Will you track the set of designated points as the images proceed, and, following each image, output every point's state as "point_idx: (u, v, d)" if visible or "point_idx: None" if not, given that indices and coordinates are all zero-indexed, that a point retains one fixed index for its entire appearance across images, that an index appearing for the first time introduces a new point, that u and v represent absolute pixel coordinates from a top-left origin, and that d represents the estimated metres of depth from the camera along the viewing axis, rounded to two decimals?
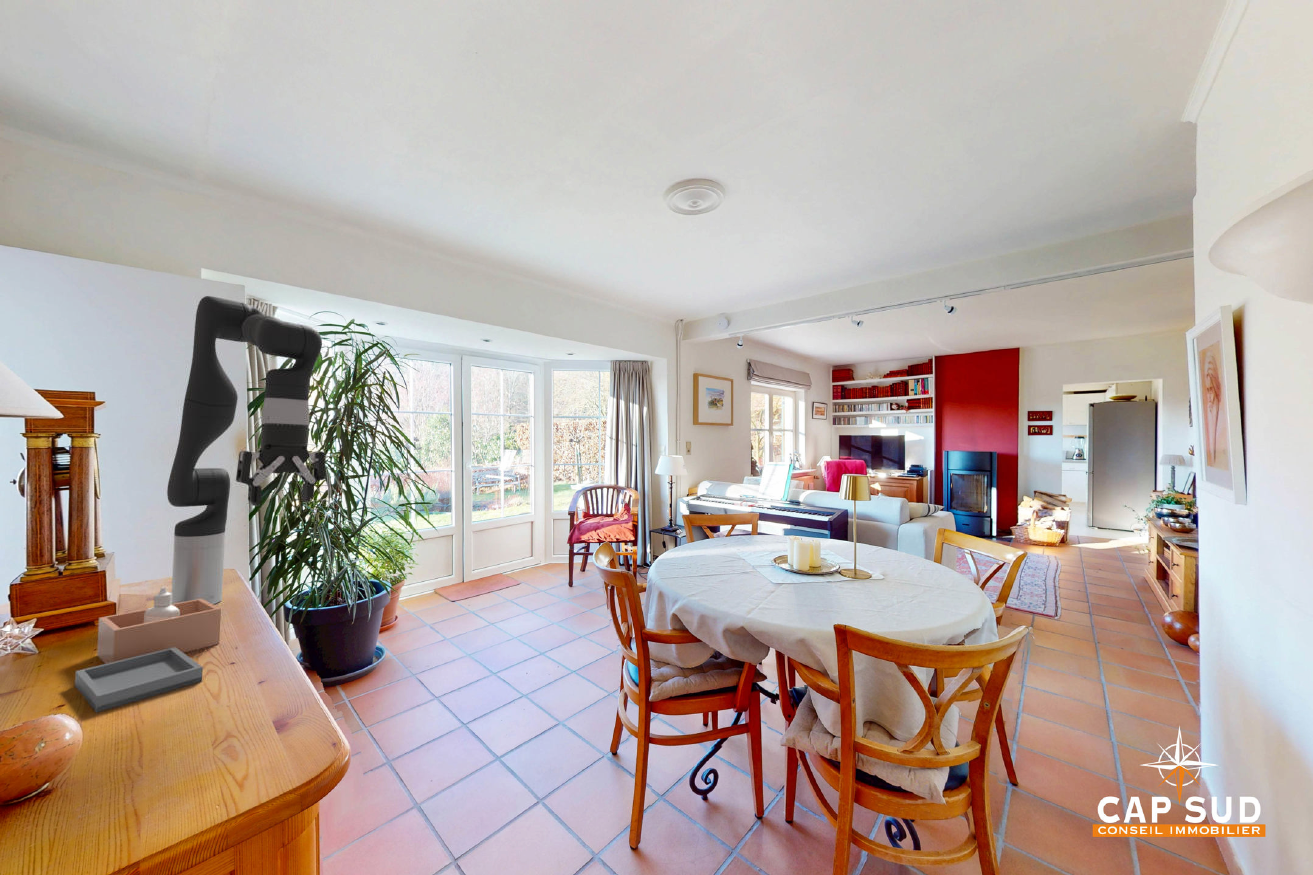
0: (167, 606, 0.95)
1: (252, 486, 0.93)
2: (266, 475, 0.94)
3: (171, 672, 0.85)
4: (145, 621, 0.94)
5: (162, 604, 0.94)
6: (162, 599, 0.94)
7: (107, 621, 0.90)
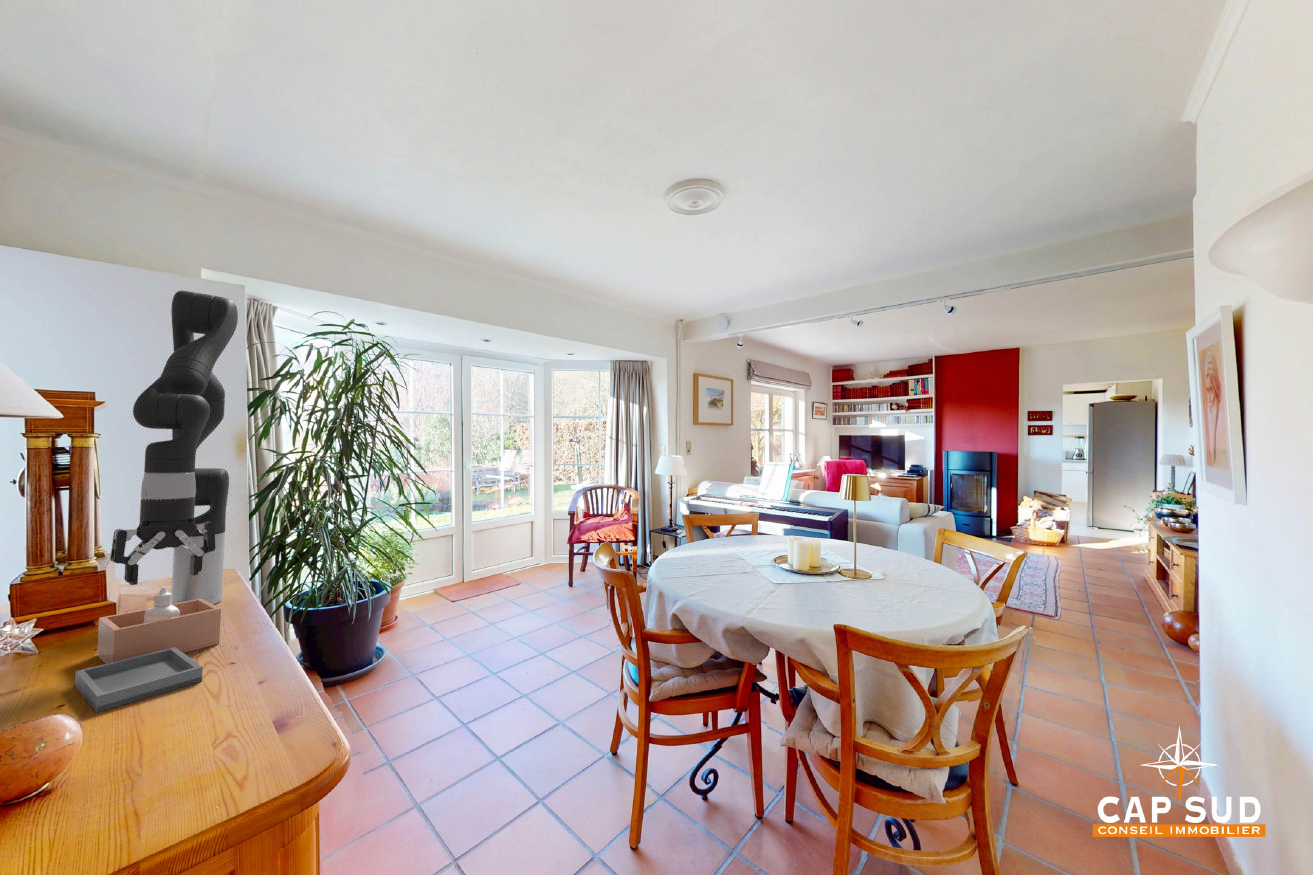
0: (167, 605, 0.95)
1: (128, 565, 0.90)
2: (144, 553, 0.92)
3: (171, 672, 0.85)
4: (145, 621, 0.94)
5: (162, 604, 0.94)
6: (162, 599, 0.94)
7: (107, 621, 0.90)
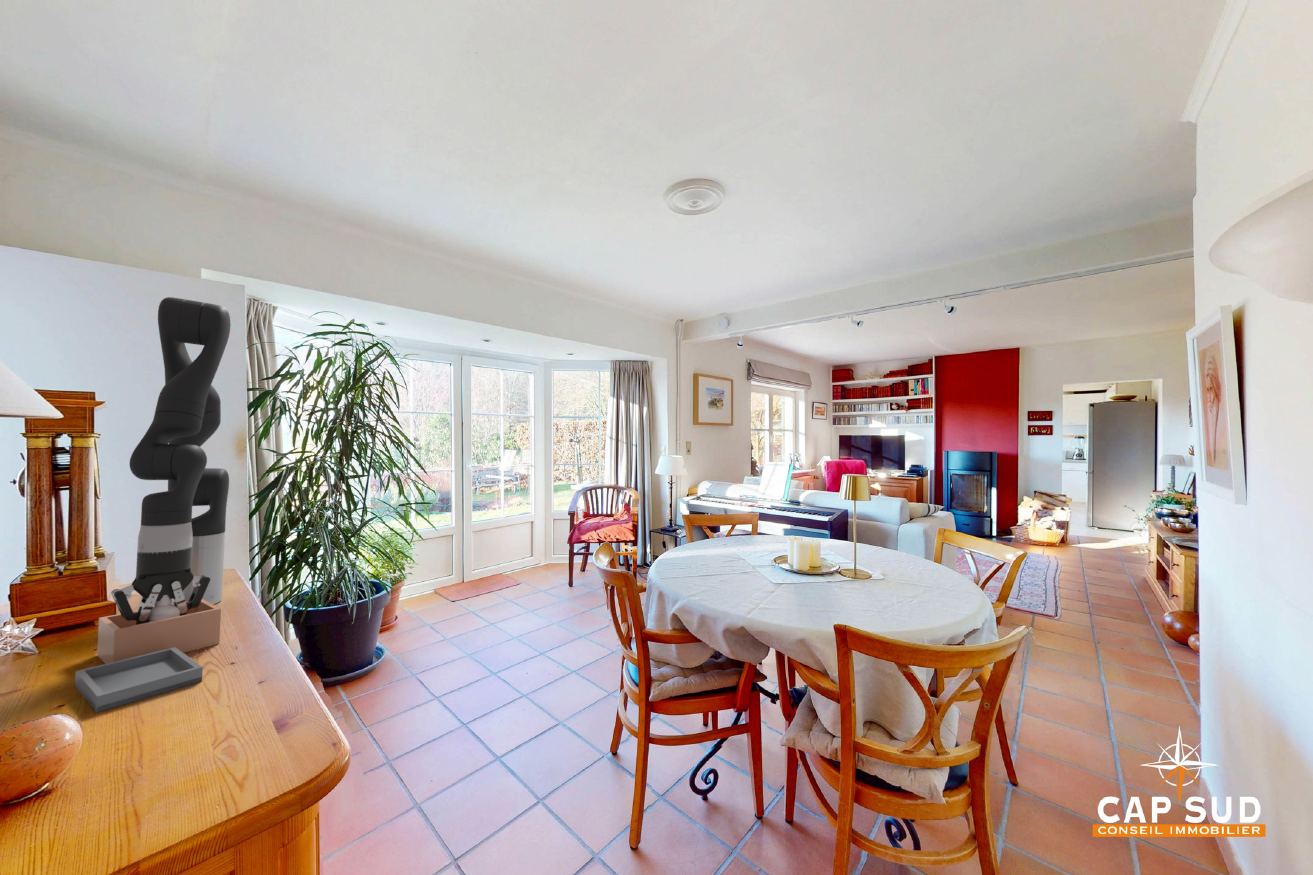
0: (167, 605, 0.95)
1: (139, 621, 0.92)
2: (150, 607, 0.93)
3: (171, 672, 0.85)
4: None
5: (162, 604, 0.94)
6: (162, 599, 0.94)
7: (107, 621, 0.90)
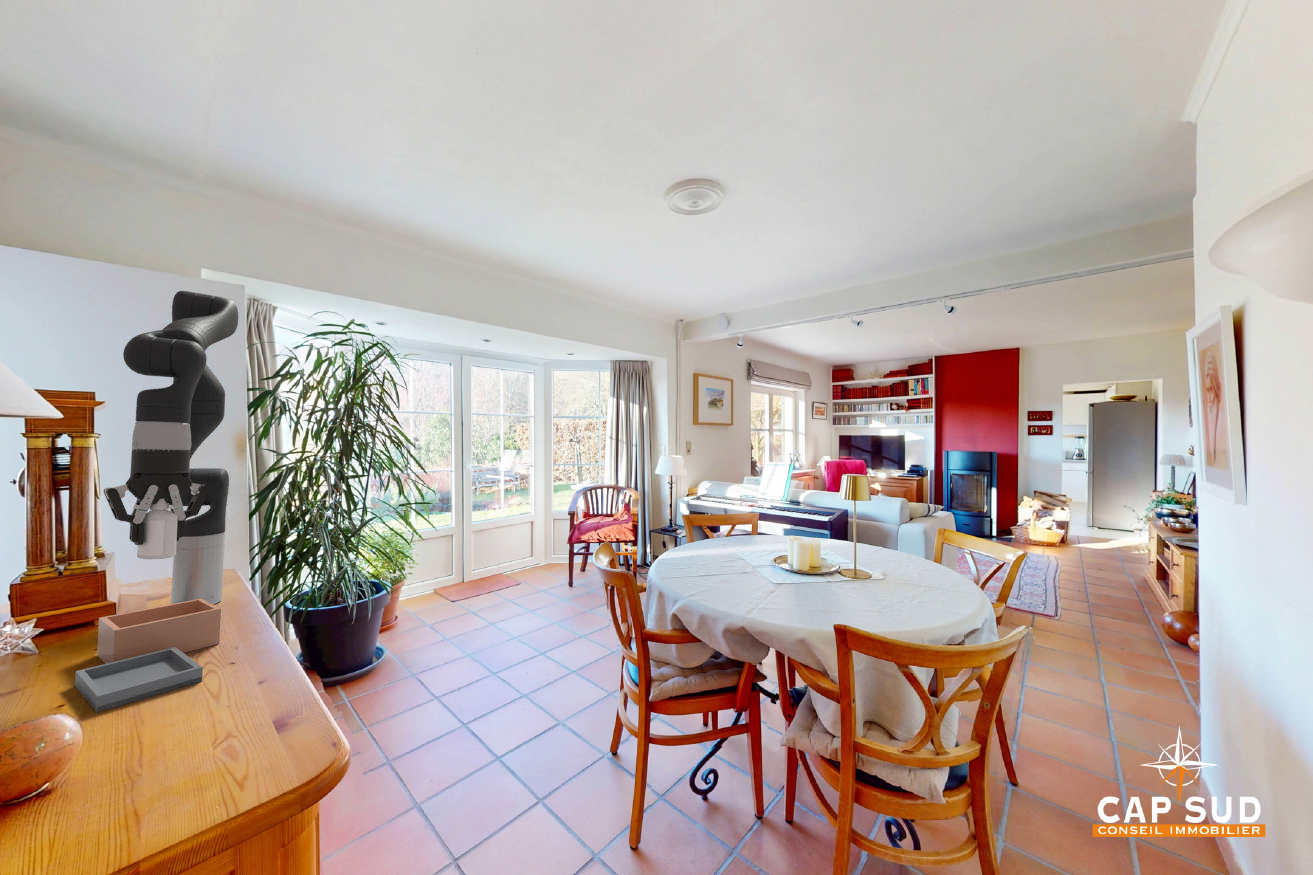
0: (164, 510, 0.89)
1: (133, 524, 0.86)
2: (145, 509, 0.86)
3: (171, 672, 0.85)
4: None
5: (158, 508, 0.88)
6: (158, 502, 0.88)
7: (107, 621, 0.90)
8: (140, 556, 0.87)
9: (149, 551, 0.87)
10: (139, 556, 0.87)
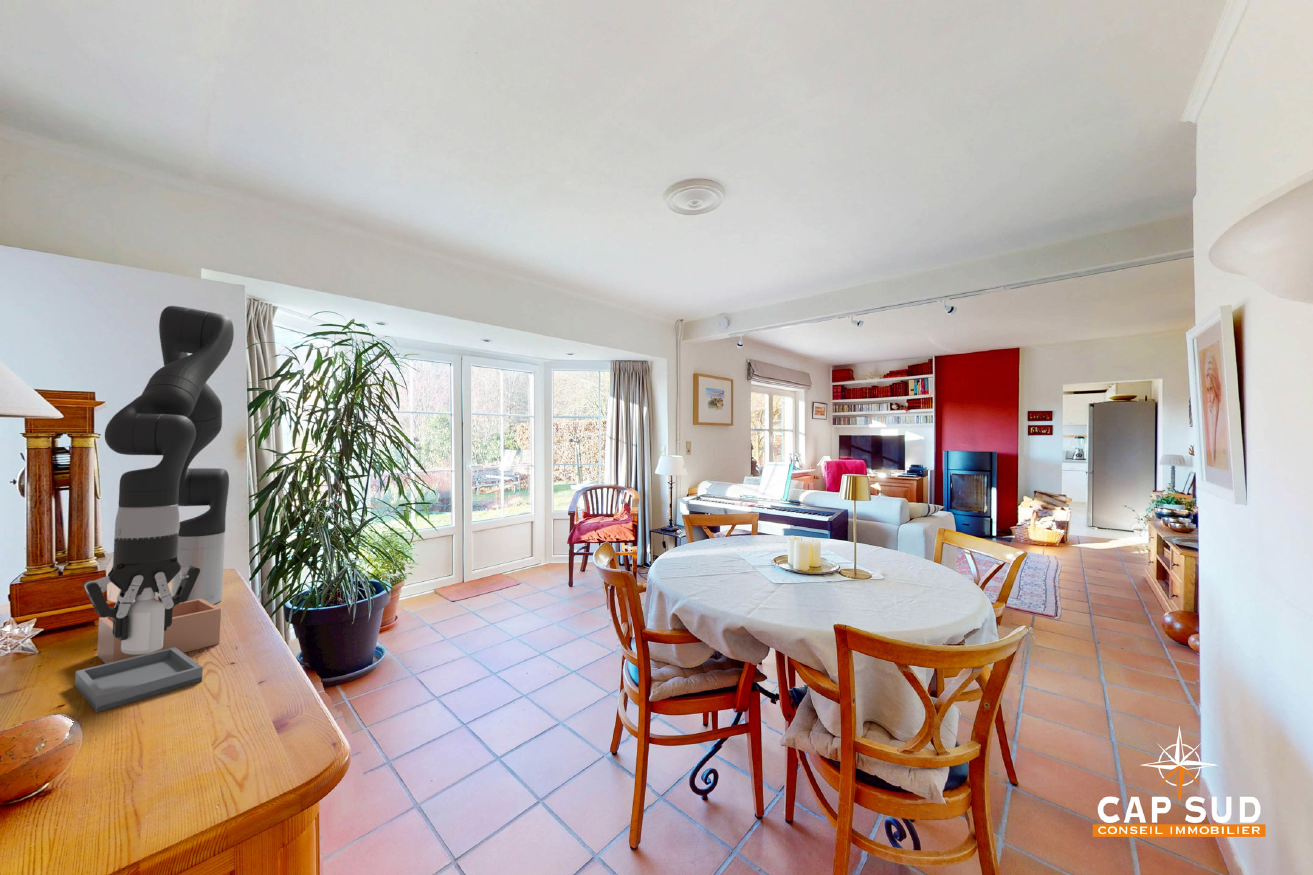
0: (150, 600, 0.82)
1: (116, 618, 0.79)
2: (129, 602, 0.80)
3: (171, 672, 0.85)
4: None
5: (144, 598, 0.81)
6: (144, 592, 0.81)
7: (107, 621, 0.90)
8: (124, 651, 0.81)
9: (134, 646, 0.81)
10: (123, 651, 0.81)
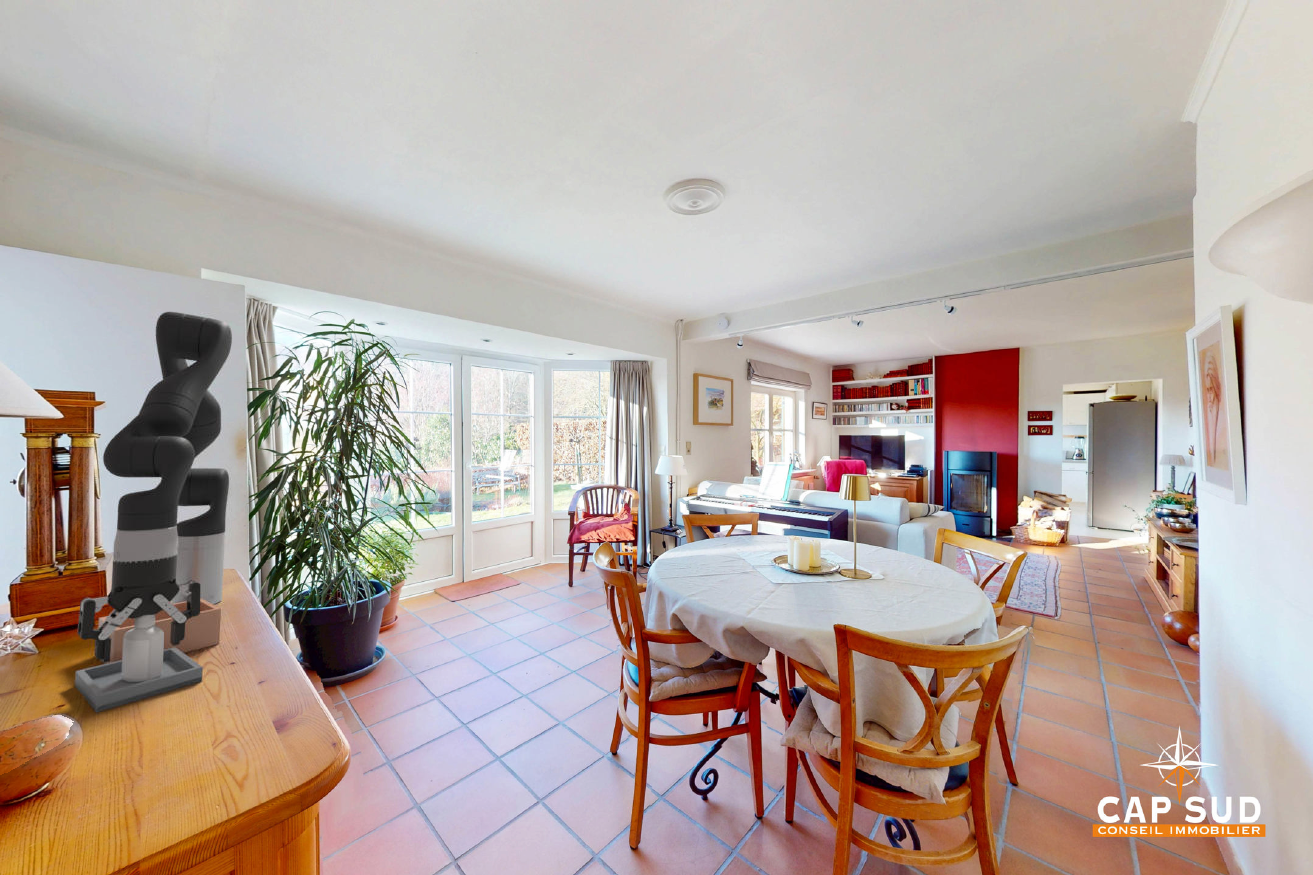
0: (149, 627, 0.82)
1: (98, 640, 0.78)
2: (117, 624, 0.79)
3: (171, 672, 0.85)
4: (124, 645, 0.81)
5: (143, 626, 0.82)
6: (143, 620, 0.82)
7: None
8: (124, 678, 0.81)
9: (133, 674, 0.81)
10: (123, 678, 0.81)
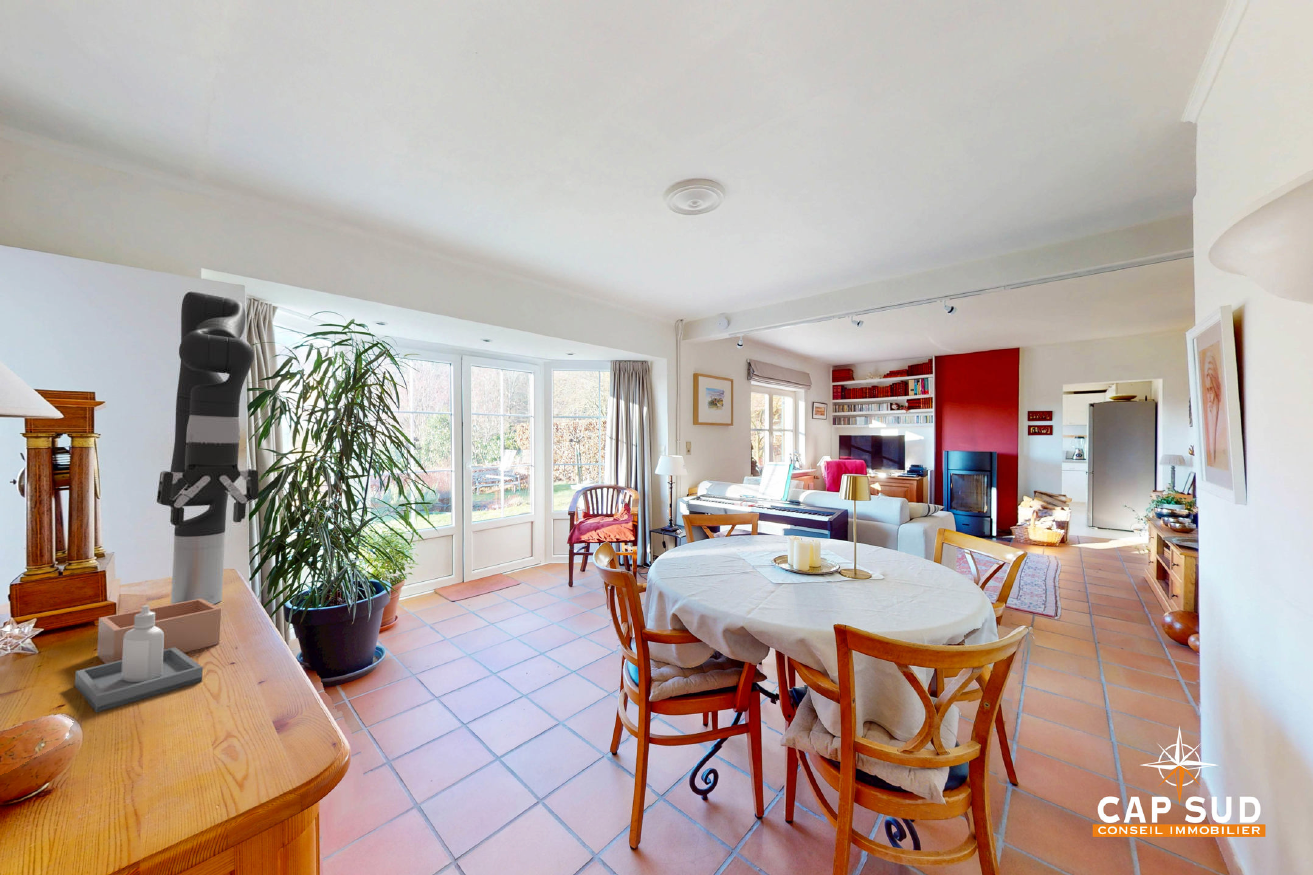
0: (149, 627, 0.82)
1: (174, 508, 0.89)
2: (189, 496, 0.90)
3: (171, 672, 0.85)
4: (124, 645, 0.81)
5: (143, 626, 0.82)
6: (143, 620, 0.82)
7: (107, 621, 0.90)
8: (124, 678, 0.81)
9: (133, 674, 0.81)
10: (123, 678, 0.81)
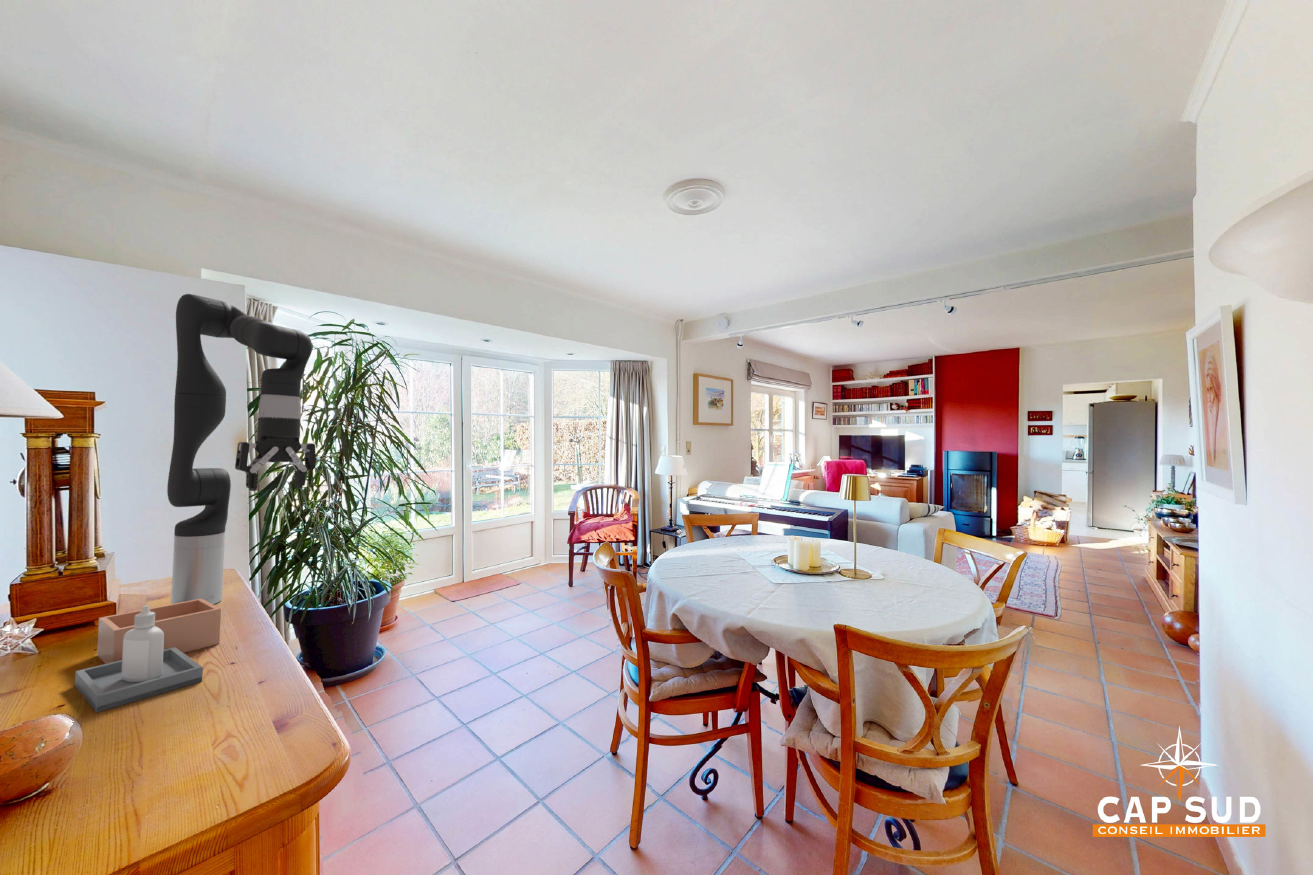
0: (149, 627, 0.82)
1: (249, 473, 1.04)
2: (262, 463, 1.05)
3: (171, 672, 0.85)
4: (124, 645, 0.81)
5: (143, 626, 0.82)
6: (143, 620, 0.82)
7: (107, 621, 0.90)
8: (124, 678, 0.81)
9: (133, 674, 0.81)
10: (123, 678, 0.81)
